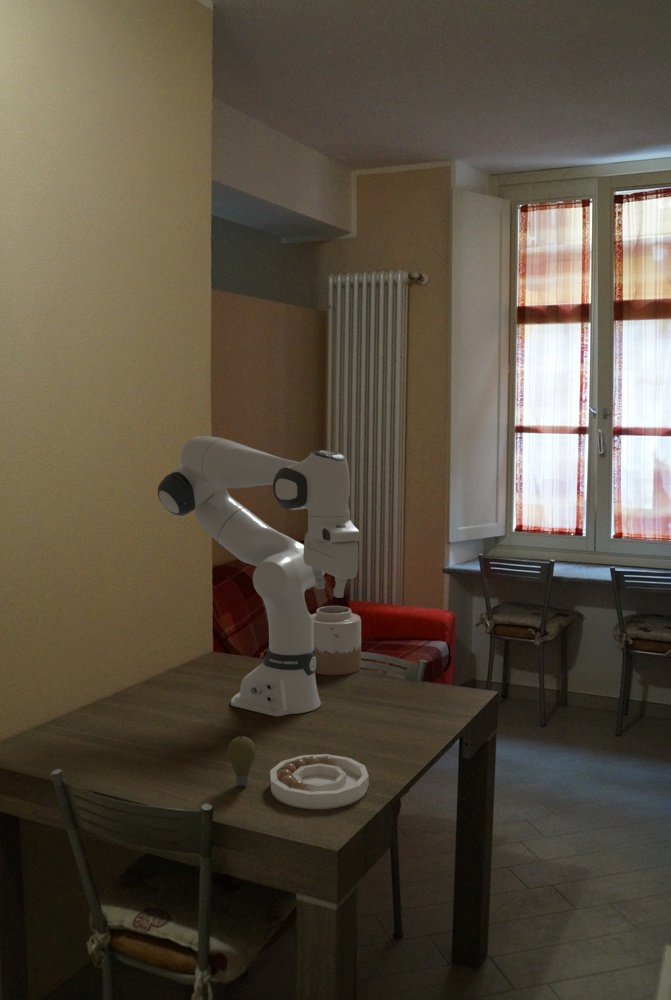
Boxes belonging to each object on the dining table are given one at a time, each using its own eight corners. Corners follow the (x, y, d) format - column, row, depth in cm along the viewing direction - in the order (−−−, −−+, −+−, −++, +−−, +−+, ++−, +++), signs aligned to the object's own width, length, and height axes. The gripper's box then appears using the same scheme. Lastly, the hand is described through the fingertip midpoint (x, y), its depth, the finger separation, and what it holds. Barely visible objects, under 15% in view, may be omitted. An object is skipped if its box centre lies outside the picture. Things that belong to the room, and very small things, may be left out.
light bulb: (228, 780, 189) (227, 732, 188) (256, 779, 189) (255, 731, 188) (227, 792, 183) (226, 743, 182) (256, 791, 184) (255, 741, 182)
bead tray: (253, 798, 180) (253, 780, 180) (296, 762, 197) (296, 745, 197) (344, 816, 173) (344, 796, 172) (381, 777, 190) (381, 759, 189)
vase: (302, 674, 259) (301, 615, 257) (312, 658, 274) (312, 602, 272) (356, 677, 256) (356, 617, 254) (364, 661, 271) (364, 604, 269)
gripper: (296, 522, 206) (296, 584, 207) (335, 535, 187) (335, 603, 189) (322, 521, 208) (322, 582, 210) (363, 533, 190) (363, 600, 191)
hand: (329, 592), depth 199 cm, fingers open, 8 cm apart
